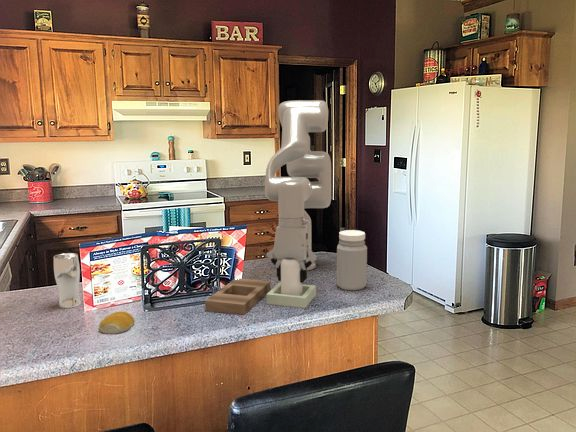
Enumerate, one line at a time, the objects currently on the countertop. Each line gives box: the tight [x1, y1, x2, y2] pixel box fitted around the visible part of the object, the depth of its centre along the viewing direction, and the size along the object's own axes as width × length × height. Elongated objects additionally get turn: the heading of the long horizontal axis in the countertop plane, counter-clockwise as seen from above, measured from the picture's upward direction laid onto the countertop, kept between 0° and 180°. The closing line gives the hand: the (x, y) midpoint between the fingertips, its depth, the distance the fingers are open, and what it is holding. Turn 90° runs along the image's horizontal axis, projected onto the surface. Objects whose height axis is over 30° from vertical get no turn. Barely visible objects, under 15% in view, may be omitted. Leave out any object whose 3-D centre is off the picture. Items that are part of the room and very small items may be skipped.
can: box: [280, 258, 303, 296], centre depth 155 cm, size 6×6×12 cm
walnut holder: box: [204, 278, 272, 316], centre depth 156 cm, size 22×12×3 cm, turn 162°
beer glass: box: [53, 252, 82, 309], centre depth 152 cm, size 7×7×15 cm
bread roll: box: [98, 311, 135, 335], centre depth 136 cm, size 8×9×4 cm
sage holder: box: [265, 281, 317, 309], centre depth 156 cm, size 12×12×3 cm
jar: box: [336, 229, 368, 291], centre depth 166 cm, size 10×10×18 cm
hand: (291, 280), depth 155 cm, fingers closed on can, 6 cm apart
